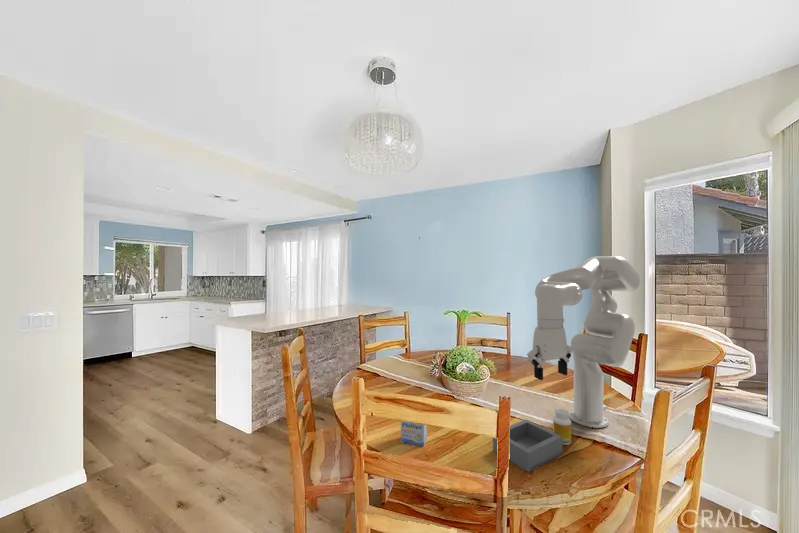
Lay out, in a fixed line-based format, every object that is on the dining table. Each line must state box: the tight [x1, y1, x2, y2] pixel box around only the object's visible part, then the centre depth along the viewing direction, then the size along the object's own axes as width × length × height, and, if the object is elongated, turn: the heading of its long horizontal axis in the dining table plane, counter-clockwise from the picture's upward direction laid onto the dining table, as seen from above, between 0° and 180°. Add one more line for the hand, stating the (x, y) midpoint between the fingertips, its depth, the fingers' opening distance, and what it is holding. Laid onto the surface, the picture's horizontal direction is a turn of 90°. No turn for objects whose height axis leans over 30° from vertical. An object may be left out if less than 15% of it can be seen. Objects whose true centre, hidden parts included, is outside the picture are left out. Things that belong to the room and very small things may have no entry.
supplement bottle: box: [552, 408, 572, 446], centre depth 108 cm, size 5×5×10 cm
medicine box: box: [400, 420, 428, 447], centre depth 109 cm, size 8×4×9 cm, turn 73°
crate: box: [492, 418, 563, 473], centre depth 102 cm, size 16×13×6 cm
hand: (550, 376), depth 106 cm, fingers open, 9 cm apart
